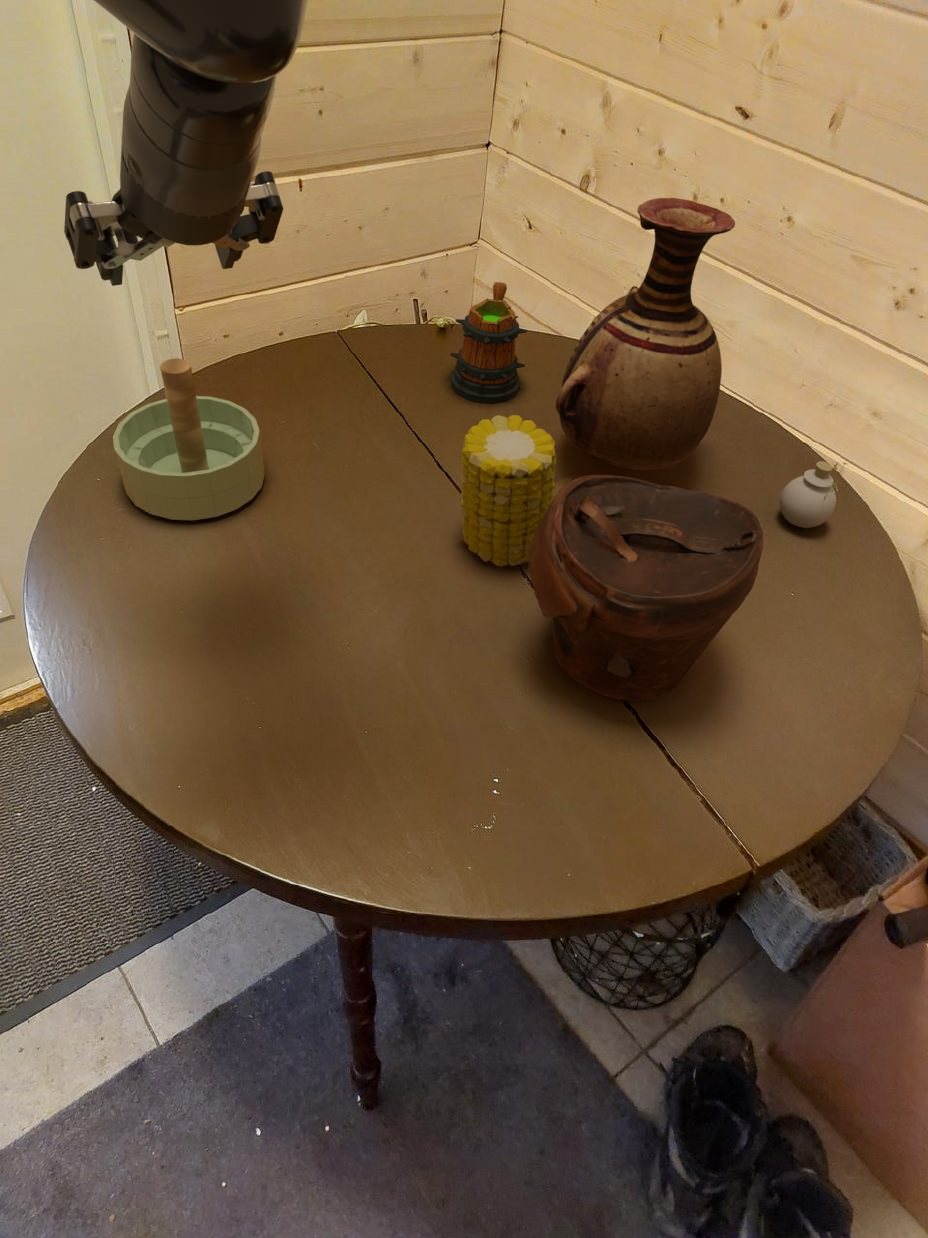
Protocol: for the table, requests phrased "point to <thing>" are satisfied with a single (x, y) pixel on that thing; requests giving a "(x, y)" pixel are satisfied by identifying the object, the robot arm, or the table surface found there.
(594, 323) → the vase
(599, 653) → the case
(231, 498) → the bowl
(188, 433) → the stick
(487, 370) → the mug
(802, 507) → the ornament
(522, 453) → the food
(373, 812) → the table surface
